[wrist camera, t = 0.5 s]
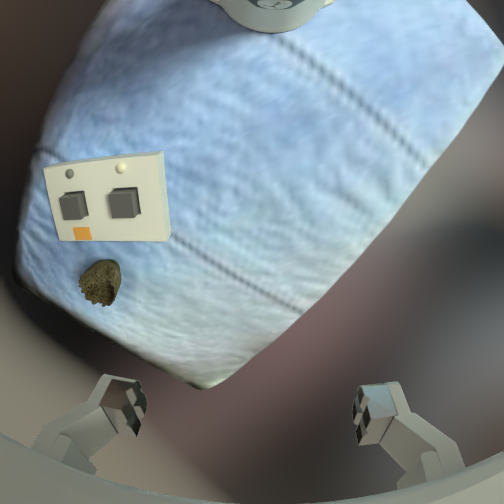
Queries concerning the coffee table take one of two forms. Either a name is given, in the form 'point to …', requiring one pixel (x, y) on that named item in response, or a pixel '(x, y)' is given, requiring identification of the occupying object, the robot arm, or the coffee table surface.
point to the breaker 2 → (124, 202)
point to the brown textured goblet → (101, 282)
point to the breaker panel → (96, 193)
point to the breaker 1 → (73, 205)
